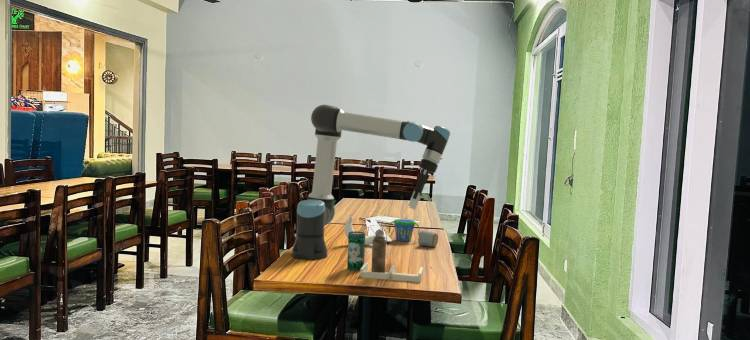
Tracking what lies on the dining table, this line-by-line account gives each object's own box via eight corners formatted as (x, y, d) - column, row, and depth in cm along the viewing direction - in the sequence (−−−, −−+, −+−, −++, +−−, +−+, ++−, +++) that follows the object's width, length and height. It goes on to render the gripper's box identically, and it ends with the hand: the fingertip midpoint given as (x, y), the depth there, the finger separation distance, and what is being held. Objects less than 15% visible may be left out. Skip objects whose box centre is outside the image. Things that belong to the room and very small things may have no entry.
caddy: (360, 279, 200) (360, 268, 200) (364, 273, 210) (365, 262, 210) (420, 284, 197) (421, 273, 197) (422, 277, 207) (423, 267, 206)
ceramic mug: (433, 248, 261) (434, 232, 261) (417, 246, 265) (418, 230, 264) (440, 245, 271) (441, 229, 270) (424, 243, 274) (425, 228, 274)
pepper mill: (370, 276, 202) (371, 230, 201) (372, 272, 207) (374, 227, 206) (383, 277, 201) (385, 231, 200) (385, 273, 206) (387, 228, 205)
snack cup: (420, 240, 281) (421, 220, 281) (416, 243, 271) (417, 223, 271) (391, 237, 286) (392, 217, 285) (386, 240, 276) (386, 220, 275)
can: (345, 272, 210) (346, 233, 209) (351, 268, 216) (352, 230, 215) (359, 274, 208) (361, 234, 207) (365, 270, 214) (367, 232, 213)
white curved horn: (383, 247, 260) (385, 216, 260) (343, 245, 260) (344, 214, 259) (383, 245, 265) (384, 214, 264) (343, 243, 264) (344, 213, 264)
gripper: (438, 160, 223) (419, 209, 222) (437, 168, 248) (420, 212, 246) (421, 153, 224) (402, 202, 223) (422, 162, 249) (404, 206, 247)
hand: (411, 207), depth 234 cm, fingers open, 13 cm apart
